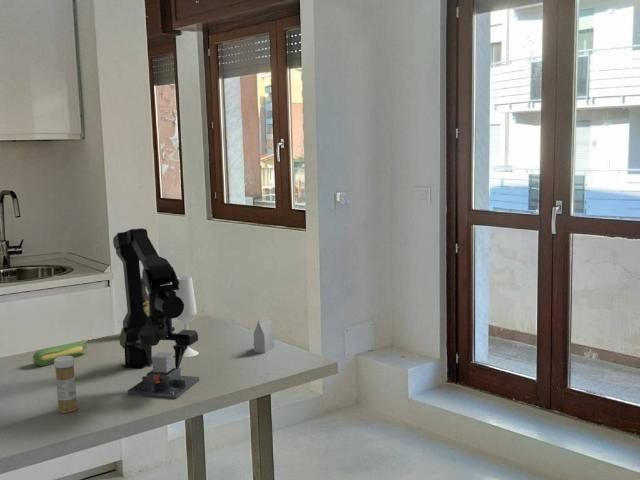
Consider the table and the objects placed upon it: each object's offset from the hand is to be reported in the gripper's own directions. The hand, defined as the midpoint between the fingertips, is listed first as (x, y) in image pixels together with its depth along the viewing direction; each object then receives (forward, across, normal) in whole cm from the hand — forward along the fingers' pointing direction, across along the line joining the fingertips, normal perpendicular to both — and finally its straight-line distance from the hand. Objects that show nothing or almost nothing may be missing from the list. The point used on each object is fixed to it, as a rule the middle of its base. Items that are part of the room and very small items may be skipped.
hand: (163, 367), depth 190 cm
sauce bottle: (+6, -32, +46) cm, 56 cm away
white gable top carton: (+6, +15, +38) cm, 41 cm away
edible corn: (+6, -42, +16) cm, 46 cm away
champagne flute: (+6, -7, +29) cm, 30 cm away
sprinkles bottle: (+6, -16, -20) cm, 26 cm away
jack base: (+6, 0, 0) cm, 6 cm away
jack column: (+4, 0, 0) cm, 4 cm away
